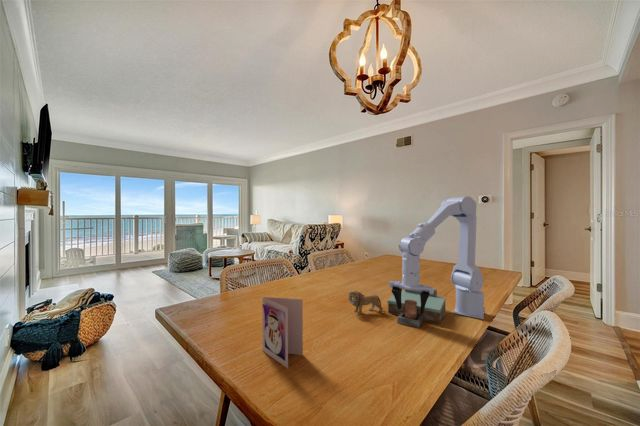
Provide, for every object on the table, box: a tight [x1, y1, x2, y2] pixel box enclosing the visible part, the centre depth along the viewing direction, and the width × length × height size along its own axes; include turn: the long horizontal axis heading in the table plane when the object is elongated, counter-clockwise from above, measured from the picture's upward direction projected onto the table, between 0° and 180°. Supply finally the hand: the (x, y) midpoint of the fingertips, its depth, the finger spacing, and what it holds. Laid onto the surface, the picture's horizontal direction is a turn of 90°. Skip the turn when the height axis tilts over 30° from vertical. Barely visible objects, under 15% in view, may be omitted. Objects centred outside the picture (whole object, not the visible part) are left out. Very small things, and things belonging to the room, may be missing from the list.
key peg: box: [405, 300, 417, 320], centre depth 90 cm, size 4×4×7 cm
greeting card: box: [261, 296, 304, 369], centre depth 70 cm, size 11×7×15 cm, turn 45°
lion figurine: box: [347, 290, 384, 315], centre depth 99 cm, size 15×5×9 cm, turn 108°
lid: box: [387, 289, 446, 313], centre depth 99 cm, size 18×15×4 cm
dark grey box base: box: [387, 301, 446, 329], centre depth 96 cm, size 18×21×4 cm
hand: (410, 310), depth 90 cm, fingers open, 7 cm apart
